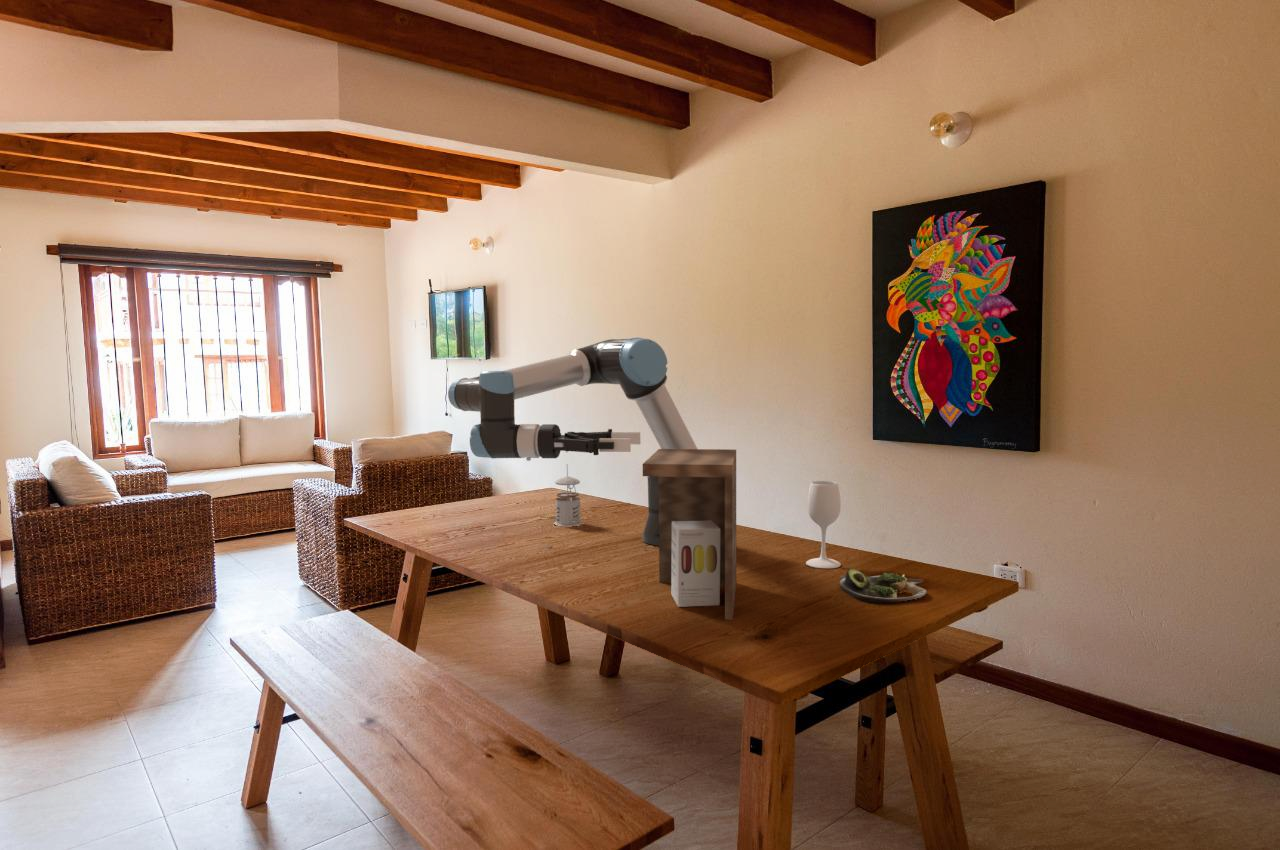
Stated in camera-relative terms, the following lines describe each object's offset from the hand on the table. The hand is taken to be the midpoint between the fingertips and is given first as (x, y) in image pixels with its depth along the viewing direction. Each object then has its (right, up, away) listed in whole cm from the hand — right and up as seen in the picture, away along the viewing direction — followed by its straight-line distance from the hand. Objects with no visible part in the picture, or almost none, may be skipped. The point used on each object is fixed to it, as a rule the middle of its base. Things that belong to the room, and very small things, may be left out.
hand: (635, 441), depth 169 cm
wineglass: (+48, -32, +29) cm, 64 cm away
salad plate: (+55, -34, +6) cm, 65 cm away
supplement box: (+13, -35, +1) cm, 37 cm away
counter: (+13, -35, +2) cm, 37 cm away
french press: (-22, -28, +82) cm, 89 cm away
